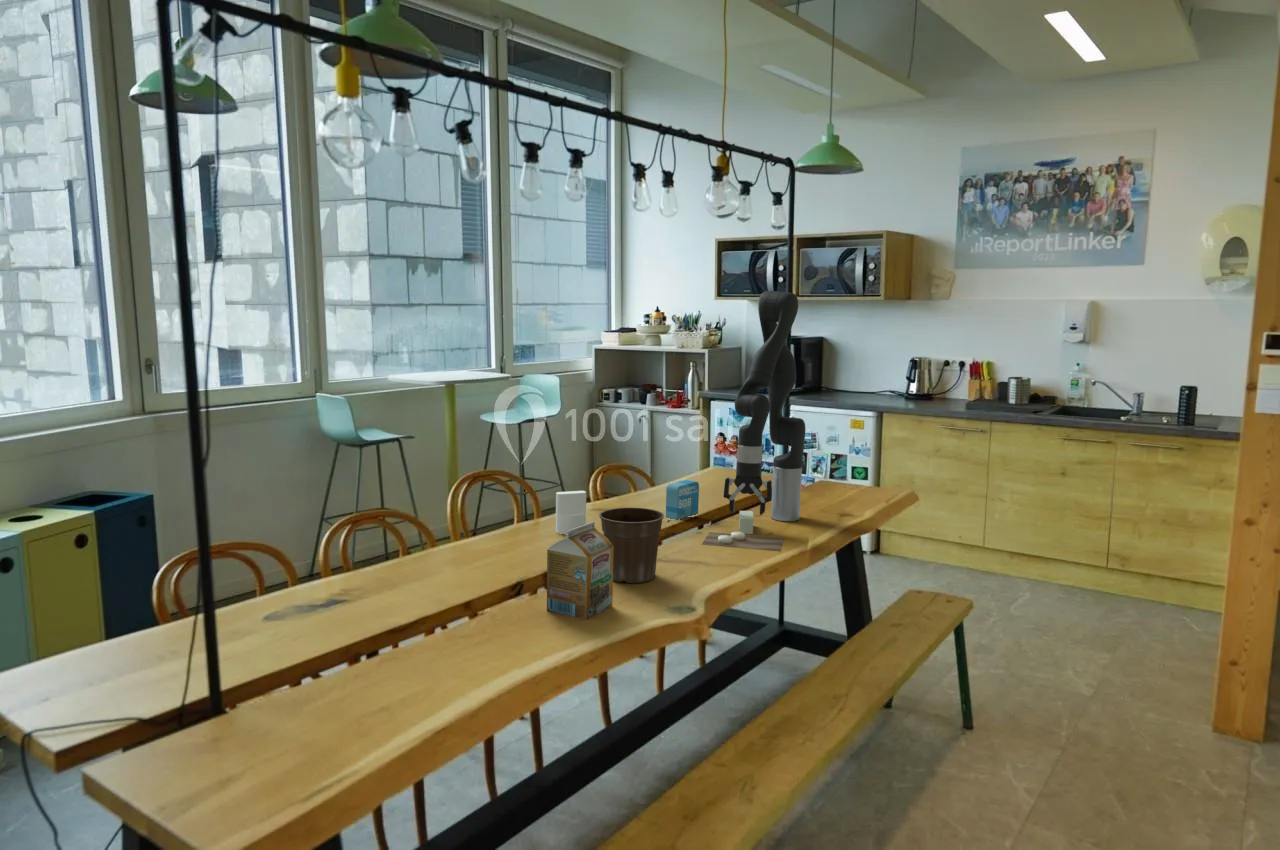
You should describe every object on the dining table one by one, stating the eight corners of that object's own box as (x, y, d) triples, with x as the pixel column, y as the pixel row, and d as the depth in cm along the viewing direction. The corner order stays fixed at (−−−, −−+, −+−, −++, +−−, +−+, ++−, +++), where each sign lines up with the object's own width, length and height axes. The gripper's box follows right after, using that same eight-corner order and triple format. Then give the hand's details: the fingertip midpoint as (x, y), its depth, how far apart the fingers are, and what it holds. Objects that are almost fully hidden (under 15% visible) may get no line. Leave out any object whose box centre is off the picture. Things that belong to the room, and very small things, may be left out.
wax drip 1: (719, 539, 249) (719, 534, 248) (732, 540, 248) (733, 535, 247) (716, 543, 245) (717, 538, 244) (731, 544, 244) (731, 539, 244)
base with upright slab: (560, 536, 254) (561, 496, 252) (552, 529, 262) (552, 490, 261) (589, 534, 257) (590, 494, 256) (580, 526, 266) (580, 488, 264)
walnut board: (709, 537, 257) (709, 532, 257) (783, 543, 252) (784, 538, 252) (701, 549, 243) (701, 544, 243) (780, 556, 238) (780, 551, 238)
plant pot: (585, 573, 219) (586, 511, 217) (636, 563, 229) (637, 503, 227) (623, 591, 206) (624, 525, 204) (675, 579, 216) (677, 516, 214)
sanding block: (734, 530, 267) (734, 510, 266) (757, 531, 266) (757, 511, 265) (734, 538, 257) (734, 518, 256) (757, 539, 256) (758, 519, 255)
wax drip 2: (731, 536, 253) (731, 531, 252) (745, 537, 252) (745, 532, 252) (729, 539, 249) (730, 534, 249) (743, 540, 248) (744, 535, 248)
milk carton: (573, 597, 201) (575, 518, 198) (612, 606, 196) (613, 524, 193) (546, 611, 192) (547, 527, 189) (586, 620, 187) (587, 534, 184)
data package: (676, 523, 272) (677, 486, 270) (665, 521, 275) (666, 484, 273) (698, 517, 281) (699, 481, 280) (687, 514, 284) (688, 479, 282)
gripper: (774, 460, 260) (771, 512, 262) (727, 456, 263) (724, 509, 265) (772, 463, 253) (769, 518, 255) (724, 460, 256) (721, 514, 258)
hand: (746, 513), depth 260 cm, fingers open, 8 cm apart
